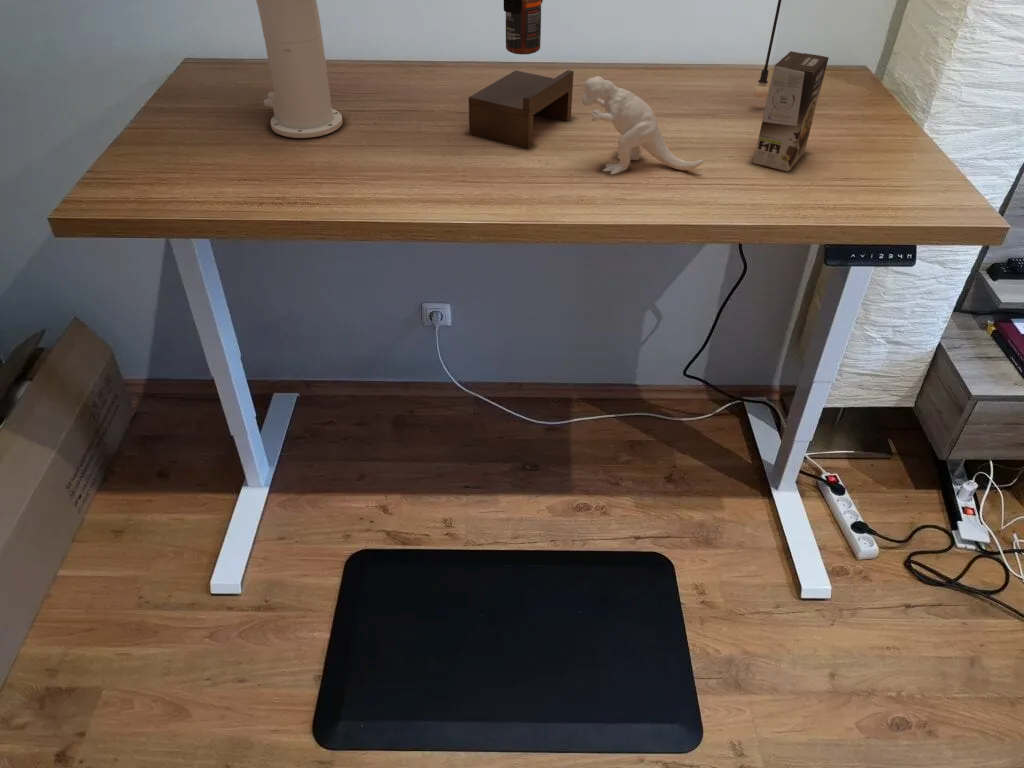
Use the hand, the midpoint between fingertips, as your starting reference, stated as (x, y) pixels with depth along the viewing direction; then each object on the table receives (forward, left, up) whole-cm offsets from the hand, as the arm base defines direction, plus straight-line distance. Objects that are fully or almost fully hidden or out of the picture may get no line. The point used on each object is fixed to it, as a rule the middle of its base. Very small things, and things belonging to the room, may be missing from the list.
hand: (523, 6), depth 132 cm
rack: (0, 0, -20) cm, 20 cm away
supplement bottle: (0, 0, -7) cm, 7 cm away
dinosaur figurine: (+25, -4, -20) cm, 33 cm away
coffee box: (+44, +11, -20) cm, 50 cm away
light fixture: (+34, +31, -20) cm, 50 cm away
